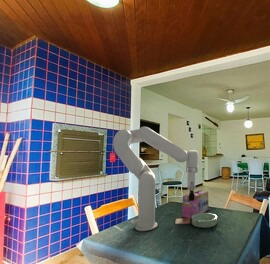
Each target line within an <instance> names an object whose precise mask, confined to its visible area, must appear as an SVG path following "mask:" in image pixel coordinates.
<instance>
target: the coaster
mask: <svg viewBox="0 0 270 264" xmlns="http://www.w3.org/2000/svg"><path fill="white" fill-rule="evenodd" d="M190 224H191V219H190V218H185V217H182V218H175V221H174V225H190Z"/></svg>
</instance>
